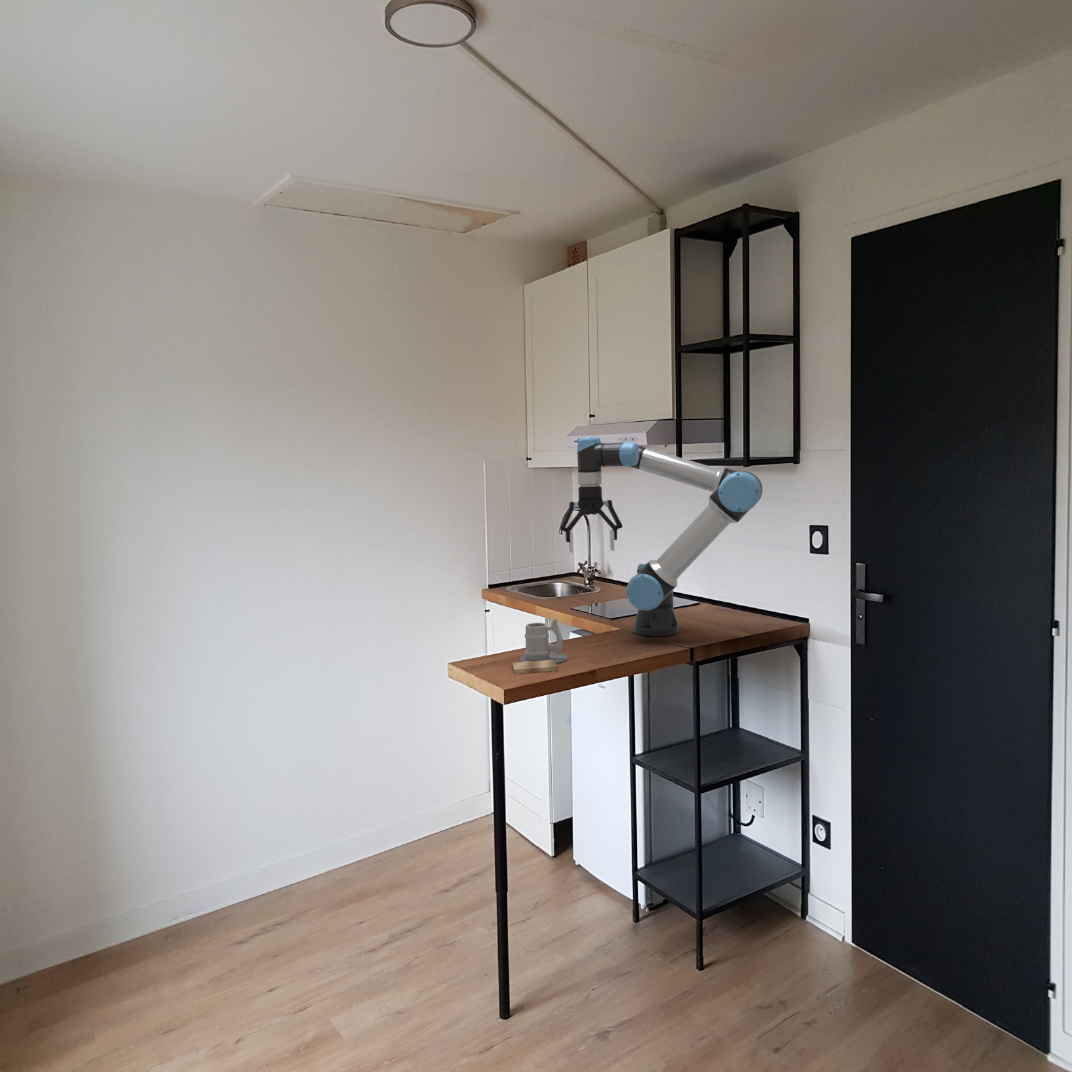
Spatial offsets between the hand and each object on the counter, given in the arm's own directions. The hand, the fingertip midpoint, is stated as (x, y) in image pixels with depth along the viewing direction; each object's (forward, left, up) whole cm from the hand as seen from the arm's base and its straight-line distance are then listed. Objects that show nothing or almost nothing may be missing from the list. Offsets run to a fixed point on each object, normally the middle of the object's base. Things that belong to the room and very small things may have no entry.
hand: (591, 551), depth 260 cm
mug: (+20, +24, -28) cm, 42 cm away
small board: (+24, +33, -29) cm, 50 cm away
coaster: (+20, +23, -29) cm, 42 cm away
